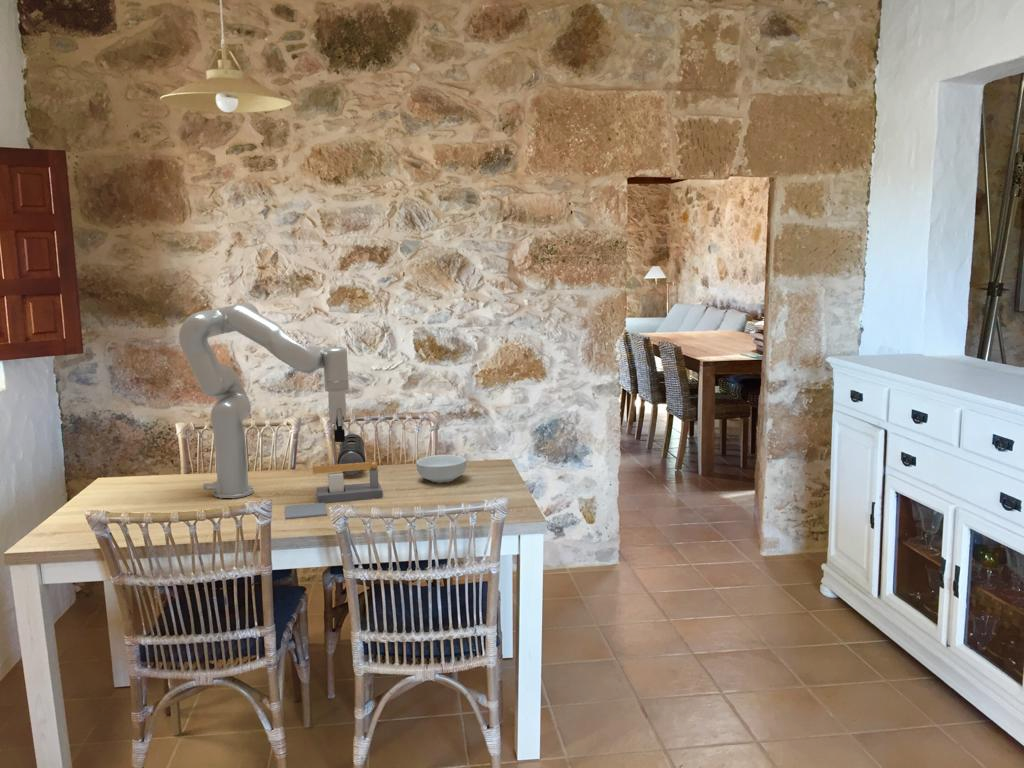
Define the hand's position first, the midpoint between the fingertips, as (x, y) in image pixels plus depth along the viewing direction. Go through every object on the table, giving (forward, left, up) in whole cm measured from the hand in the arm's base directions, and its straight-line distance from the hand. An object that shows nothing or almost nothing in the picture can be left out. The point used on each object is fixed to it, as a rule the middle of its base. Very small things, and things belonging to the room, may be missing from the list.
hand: (339, 441), depth 275 cm
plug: (-2, -6, -17) cm, 18 cm away
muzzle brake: (+6, +29, -17) cm, 34 cm away
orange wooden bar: (+1, -6, -8) cm, 10 cm away
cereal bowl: (+34, +4, -17) cm, 38 cm away
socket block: (+2, -6, -17) cm, 18 cm away
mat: (-12, -18, -17) cm, 28 cm away
